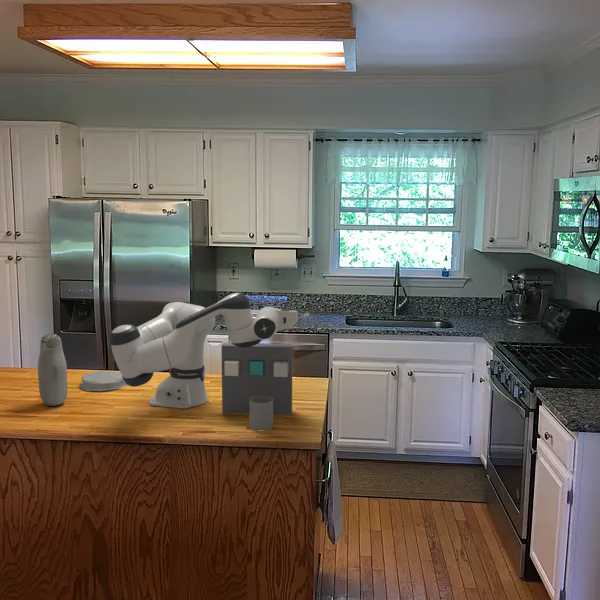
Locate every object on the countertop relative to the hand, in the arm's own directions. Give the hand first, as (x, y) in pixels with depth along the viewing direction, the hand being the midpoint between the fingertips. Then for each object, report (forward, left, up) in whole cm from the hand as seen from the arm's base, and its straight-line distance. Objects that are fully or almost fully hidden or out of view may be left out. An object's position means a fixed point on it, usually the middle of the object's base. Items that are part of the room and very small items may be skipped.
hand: (271, 312), depth 240 cm
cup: (-2, -20, -38) cm, 43 cm away
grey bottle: (-84, -3, -38) cm, 92 cm away
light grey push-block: (+4, -8, -22) cm, 24 cm away
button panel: (-5, -6, -37) cm, 38 cm away
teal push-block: (-5, -6, -22) cm, 23 cm away
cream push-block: (-14, -8, -22) cm, 27 cm away
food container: (-73, +23, -38) cm, 86 cm away
